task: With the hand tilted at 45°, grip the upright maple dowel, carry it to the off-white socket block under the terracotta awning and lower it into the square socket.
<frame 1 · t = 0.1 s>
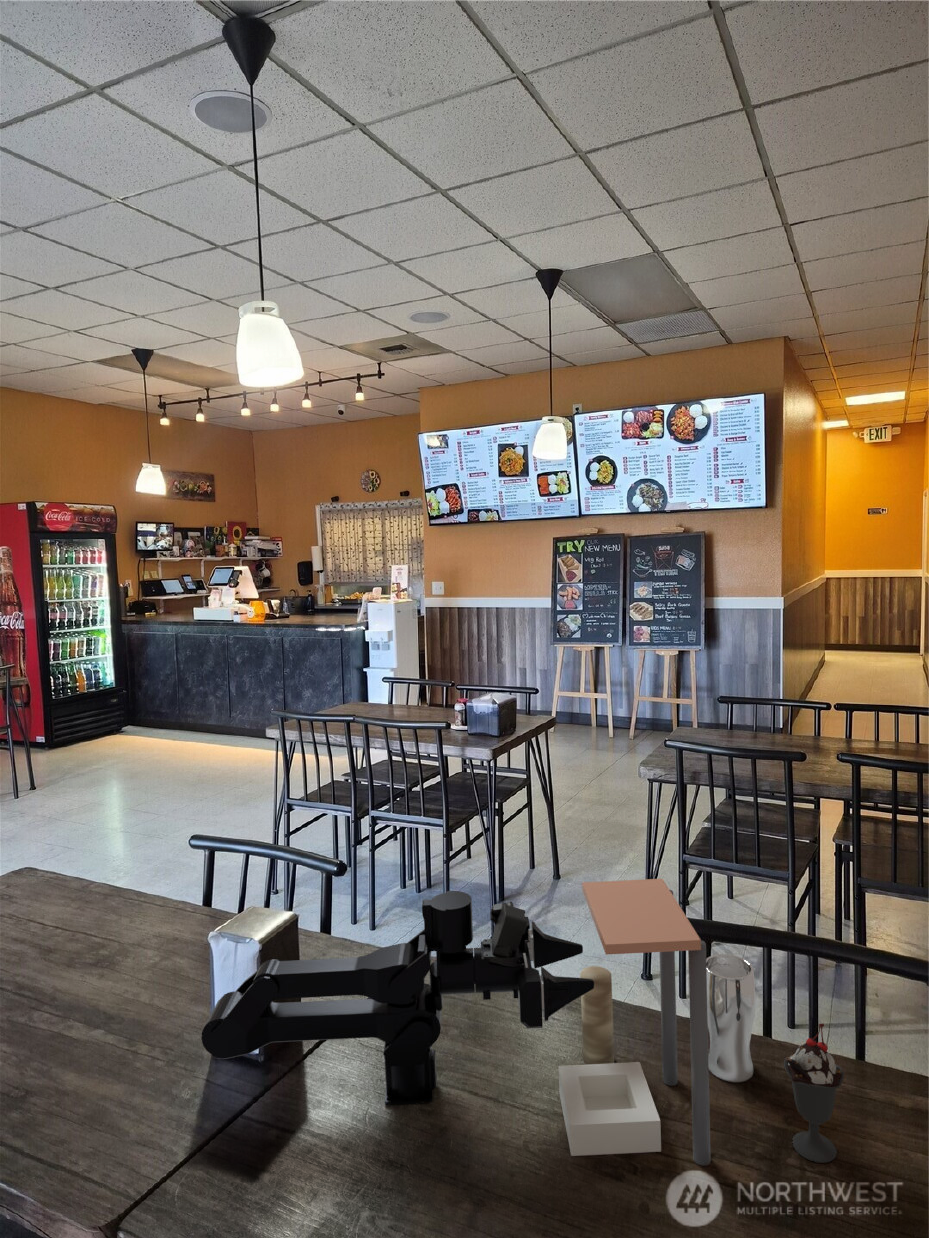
hand: (588, 965, 108), 17 cm above the table, tool horizontal, fingers open, 9 cm apart
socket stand: (607, 1120, 101), on the table
beer glass: (730, 1069, 110), on the table
sundae: (814, 1148, 95), on the table
dowel: (598, 1060, 113), on the table
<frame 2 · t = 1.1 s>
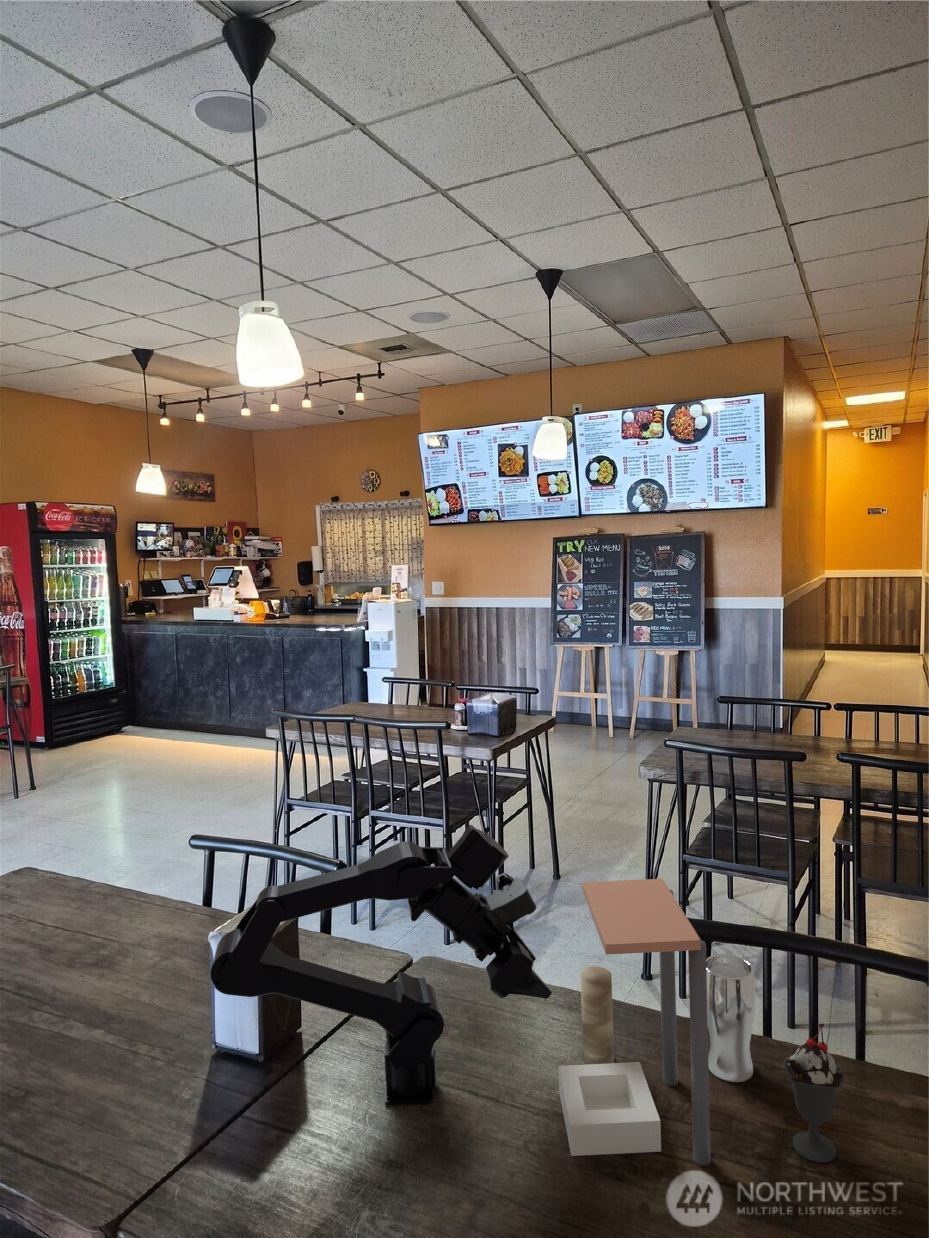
hand: (541, 977, 111), 14 cm above the table, tool tilted 45°, fingers open, 9 cm apart
nothing on the table moved.
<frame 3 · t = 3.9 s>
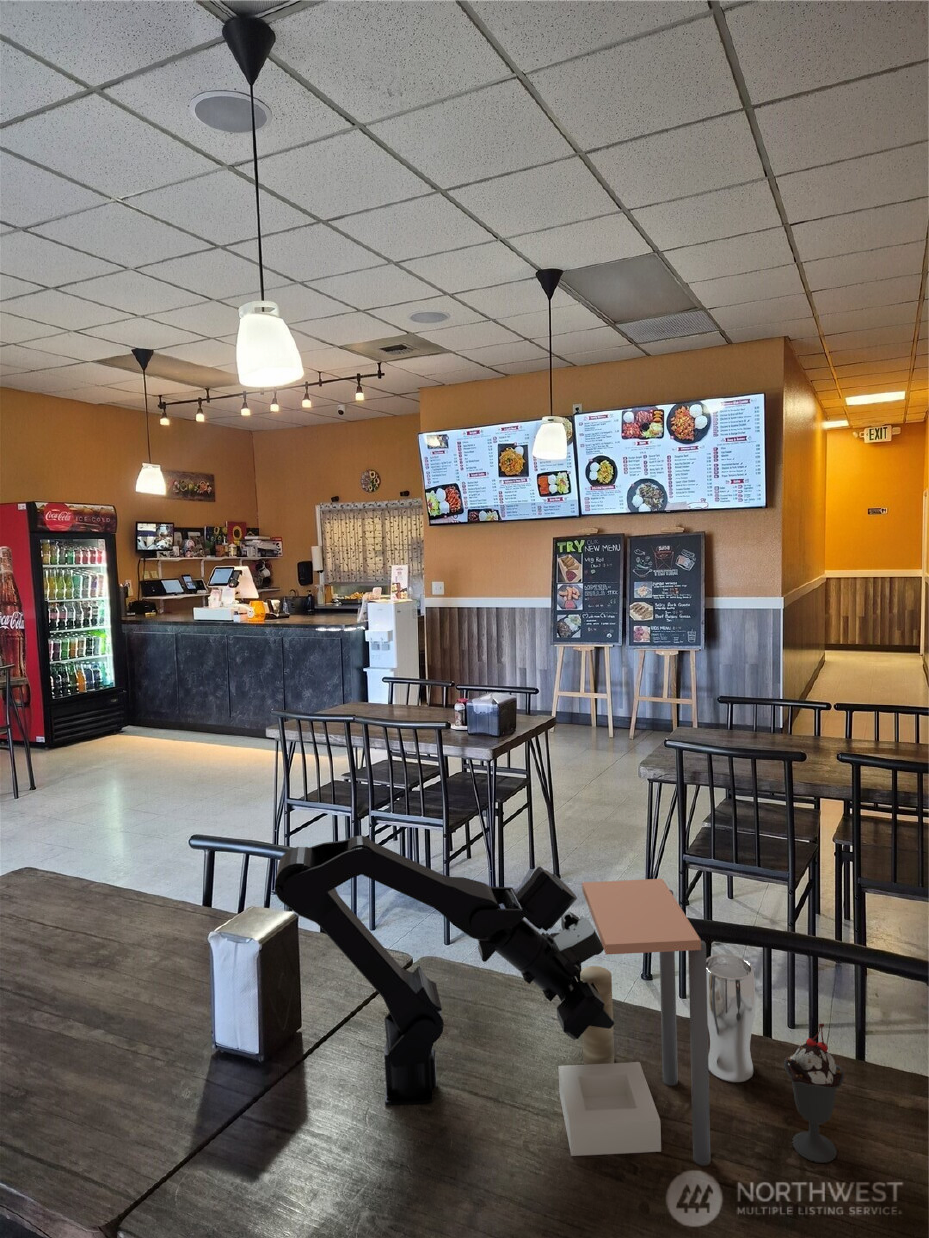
hand: (606, 1015, 113), 7 cm above the table, tool tilted 45°, fingers closed on dowel, 4 cm apart
dowel: (598, 1060, 113), on the table, touching gripper
everything else where it was.
when the fingers open (9 cm above the table, at t = 7.5 s): dowel drops 2 cm, resting on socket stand.
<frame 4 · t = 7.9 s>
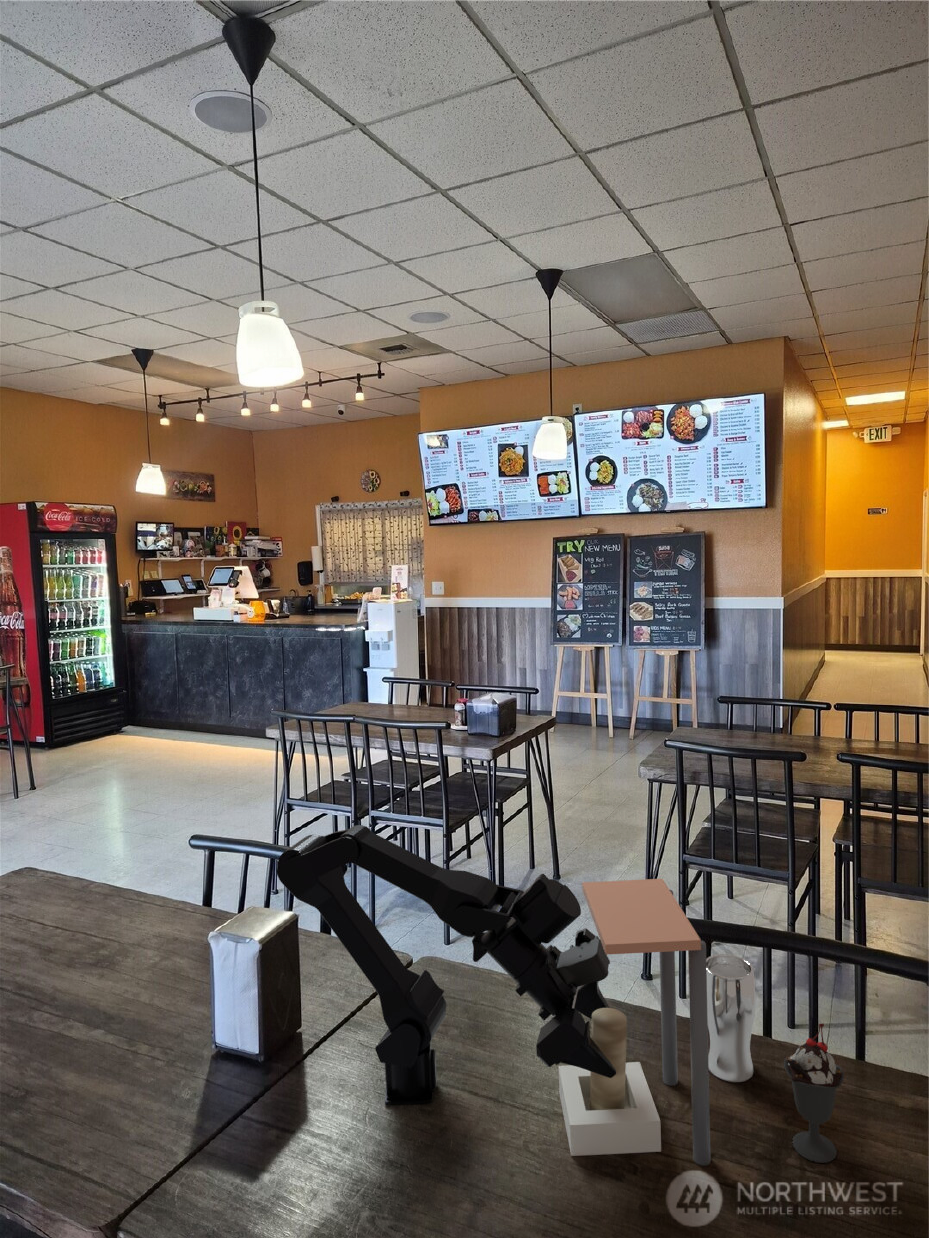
hand: (616, 1051, 100), 10 cm above the table, tool tilted 45°, fingers open, 9 cm apart
dowel: (607, 1112, 101), point 1 cm above the table, touching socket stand
everything else where it was.
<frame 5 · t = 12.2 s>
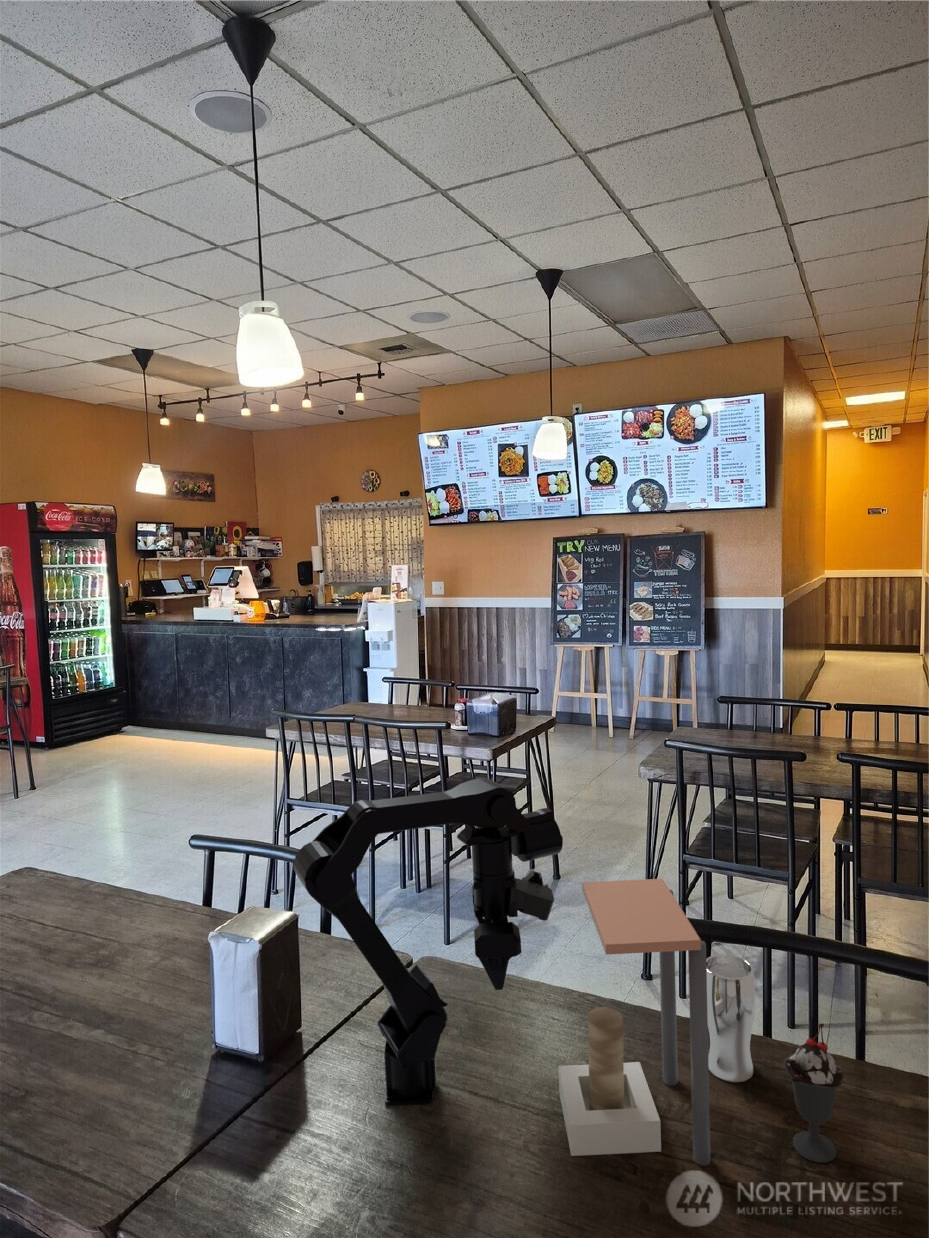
hand: (497, 971, 114), 13 cm above the table, tool pointing down, fingers open, 9 cm apart
nothing on the table moved.
at the end: dowel 0.0 cm off-centre on the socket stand, point 1.0 cm above the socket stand's base; dowel tilted 1°; the gripper is holding nothing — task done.
